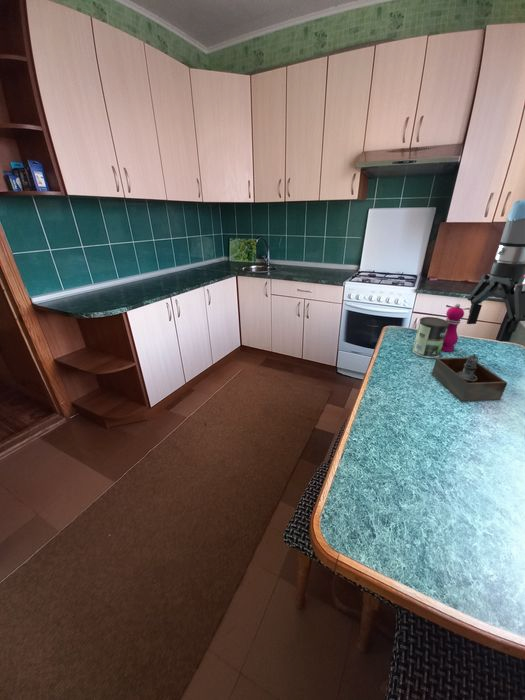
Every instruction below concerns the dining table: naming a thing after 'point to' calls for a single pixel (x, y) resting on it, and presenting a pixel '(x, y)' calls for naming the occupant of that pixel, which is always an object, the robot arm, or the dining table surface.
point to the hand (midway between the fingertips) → (486, 331)
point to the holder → (480, 390)
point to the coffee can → (430, 337)
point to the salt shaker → (469, 369)
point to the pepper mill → (452, 327)
